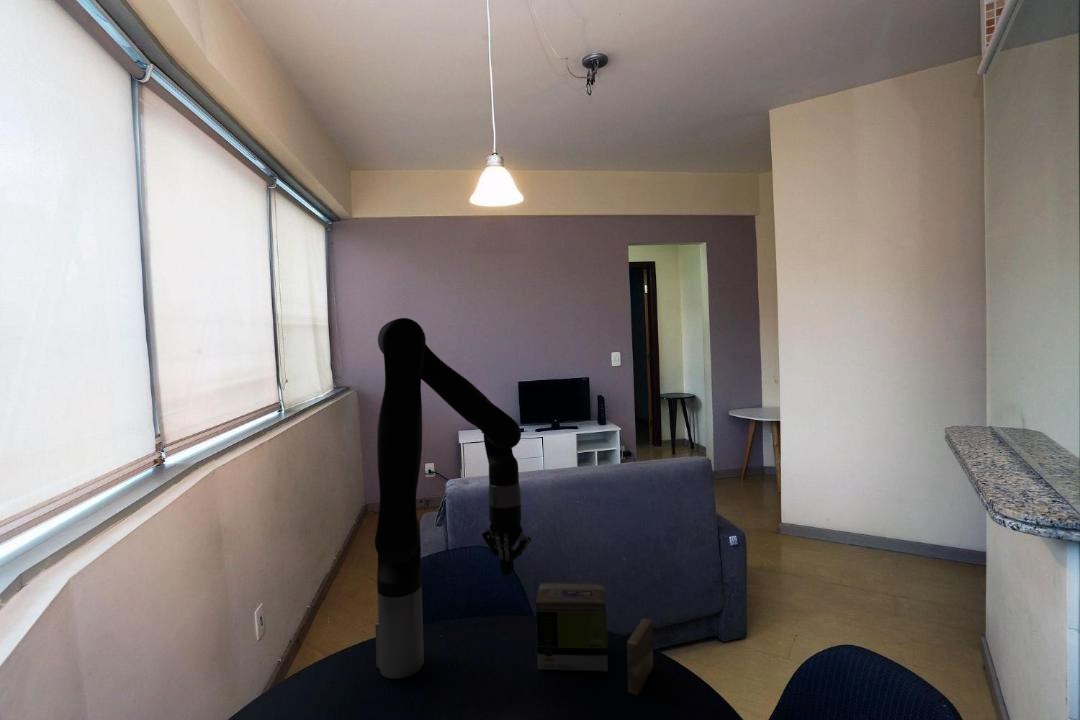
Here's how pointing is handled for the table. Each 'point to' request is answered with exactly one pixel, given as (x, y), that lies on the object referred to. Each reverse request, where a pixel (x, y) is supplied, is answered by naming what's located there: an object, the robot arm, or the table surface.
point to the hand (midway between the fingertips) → (507, 573)
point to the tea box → (571, 627)
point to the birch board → (639, 656)
